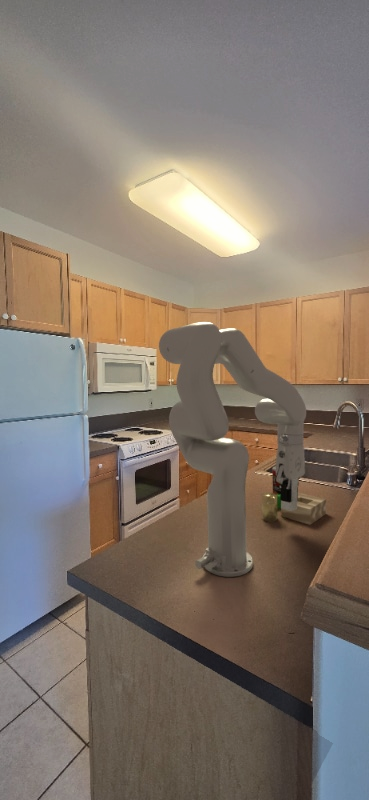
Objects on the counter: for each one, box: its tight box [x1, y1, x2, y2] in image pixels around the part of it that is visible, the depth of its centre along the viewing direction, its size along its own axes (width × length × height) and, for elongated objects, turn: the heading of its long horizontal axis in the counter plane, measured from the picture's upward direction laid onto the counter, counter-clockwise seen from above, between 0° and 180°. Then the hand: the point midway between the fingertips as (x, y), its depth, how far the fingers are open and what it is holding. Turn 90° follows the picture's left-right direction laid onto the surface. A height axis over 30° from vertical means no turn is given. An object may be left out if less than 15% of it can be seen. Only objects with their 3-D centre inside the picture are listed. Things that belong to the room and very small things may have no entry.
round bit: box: [261, 491, 278, 523], centre depth 110 cm, size 5×5×8 cm
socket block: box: [280, 492, 327, 526], centre depth 112 cm, size 12×10×5 cm
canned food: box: [271, 465, 281, 495], centre depth 131 cm, size 8×8×11 cm
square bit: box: [280, 476, 297, 511], centre depth 101 cm, size 3×3×10 cm
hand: (289, 499), depth 101 cm, fingers closed on square bit, 3 cm apart
